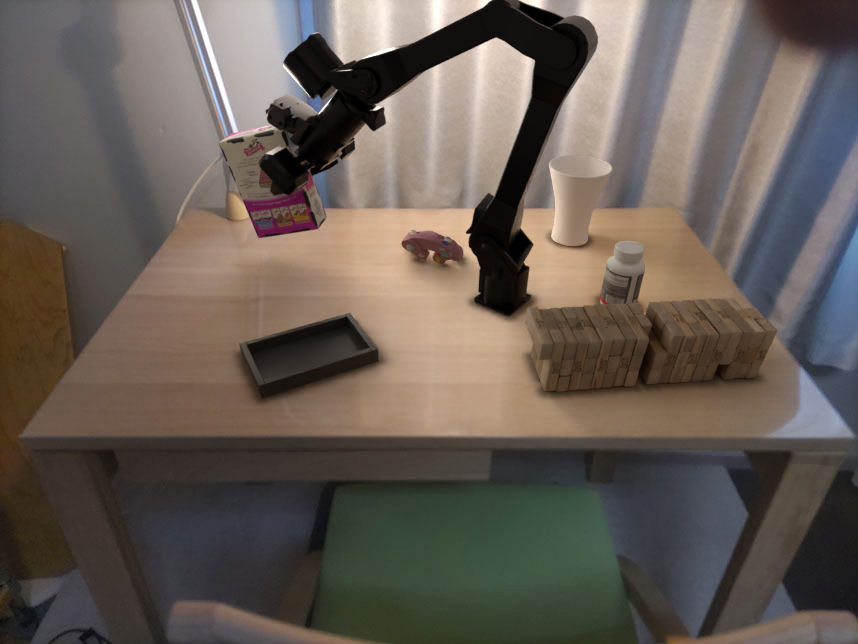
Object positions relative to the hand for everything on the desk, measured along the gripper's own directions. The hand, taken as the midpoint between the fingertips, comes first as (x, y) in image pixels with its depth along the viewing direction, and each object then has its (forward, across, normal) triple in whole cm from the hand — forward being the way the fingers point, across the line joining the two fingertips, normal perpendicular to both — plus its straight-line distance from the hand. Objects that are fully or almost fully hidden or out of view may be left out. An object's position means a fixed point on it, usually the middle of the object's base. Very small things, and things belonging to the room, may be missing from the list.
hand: (283, 186), depth 96 cm
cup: (-21, -24, +39) cm, 51 cm away
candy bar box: (+5, 0, +6) cm, 7 cm away
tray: (-4, +23, +21) cm, 32 cm away
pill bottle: (-28, -6, +47) cm, 55 cm away
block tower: (-32, +9, +50) cm, 60 cm away
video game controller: (-7, -7, +25) cm, 27 cm away
